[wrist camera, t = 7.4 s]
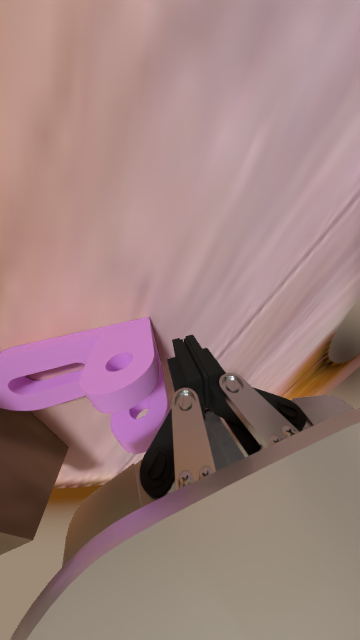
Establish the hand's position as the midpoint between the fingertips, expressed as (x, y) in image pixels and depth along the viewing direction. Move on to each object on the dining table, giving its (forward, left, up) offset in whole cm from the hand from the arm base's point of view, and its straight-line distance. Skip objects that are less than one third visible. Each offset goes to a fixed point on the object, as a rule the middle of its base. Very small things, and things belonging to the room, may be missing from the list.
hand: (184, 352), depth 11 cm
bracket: (+9, 0, -3) cm, 9 cm away
